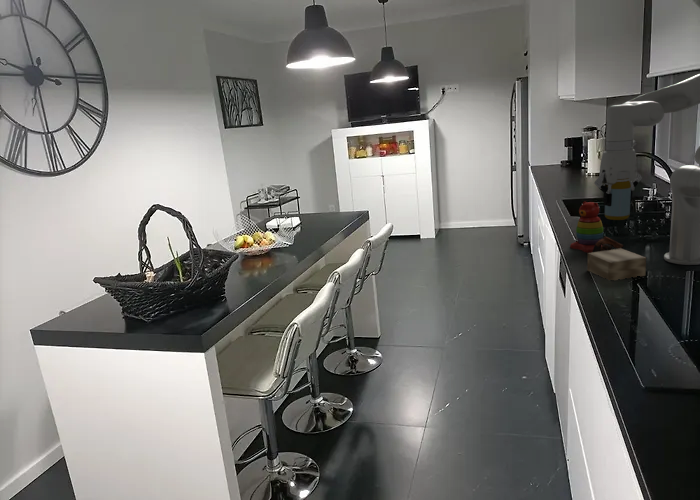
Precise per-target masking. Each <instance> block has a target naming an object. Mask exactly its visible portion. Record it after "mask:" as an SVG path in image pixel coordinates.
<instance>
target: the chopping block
mask: <svg viewBox="0 0 700 500" xmlns="http://www.w3.org/2000/svg"><path fill="white" fill-rule="evenodd" d="M646 266H647V256H643V255H640V254H638V253H635V252H632V251H629V250H627V249H624V248H620V249H616V248H614V249H613V248H612V249H611V250H606V251H599V252H593V253H587V269H586V270H587V271H588V272H590V273H592V274H595V276H598V275H599V277H600V278H603V279H605V278H606V279H605V280H607V279H608V280H607V281H609V280H614V281H619V280H618V279H620V280H625V278H627V279H632V278H631V277H633V278H638V277H637V276H640V277H646V272H647V271H646V270H647V269H646V268H647V267H646Z"/></svg>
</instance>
